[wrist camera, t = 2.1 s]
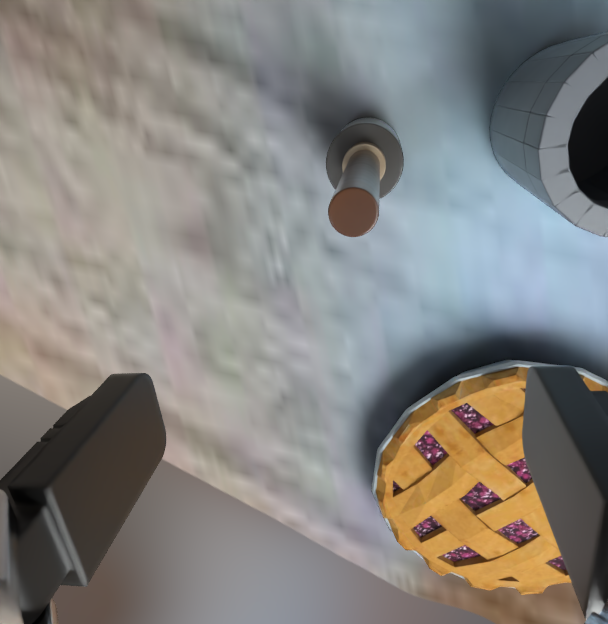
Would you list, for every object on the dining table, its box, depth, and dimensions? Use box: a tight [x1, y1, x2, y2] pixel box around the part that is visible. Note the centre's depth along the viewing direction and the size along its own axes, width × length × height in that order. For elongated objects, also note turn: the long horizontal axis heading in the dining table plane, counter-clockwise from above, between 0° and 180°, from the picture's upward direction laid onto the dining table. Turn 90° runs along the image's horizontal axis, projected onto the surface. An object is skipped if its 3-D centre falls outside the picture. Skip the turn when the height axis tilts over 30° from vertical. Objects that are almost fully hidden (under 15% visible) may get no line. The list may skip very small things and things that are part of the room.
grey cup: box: [490, 32, 608, 237], centre depth 26 cm, size 9×9×11 cm
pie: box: [371, 359, 608, 595], centre depth 39 cm, size 22×22×5 cm
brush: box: [326, 117, 404, 237], centre depth 25 cm, size 4×4×17 cm
